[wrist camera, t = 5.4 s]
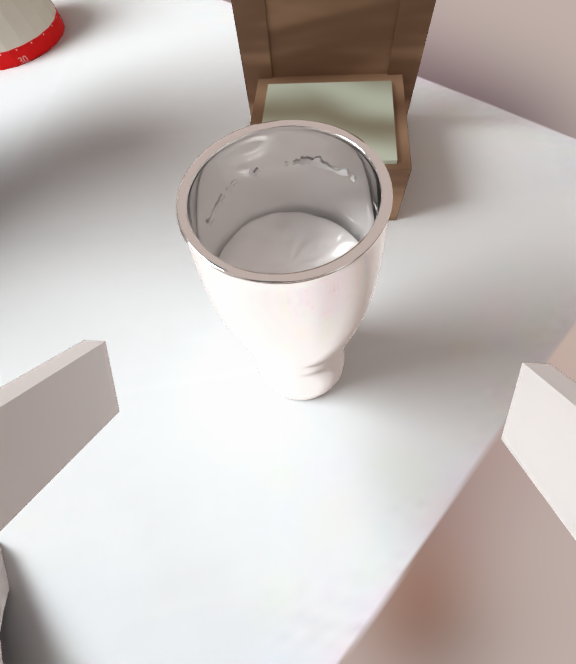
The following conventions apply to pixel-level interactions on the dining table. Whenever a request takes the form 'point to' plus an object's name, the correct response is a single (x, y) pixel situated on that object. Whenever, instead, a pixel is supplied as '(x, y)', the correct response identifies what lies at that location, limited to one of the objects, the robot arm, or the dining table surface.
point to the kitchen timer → (27, 30)
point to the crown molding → (2, 592)
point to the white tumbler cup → (288, 243)
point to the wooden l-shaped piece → (337, 68)
